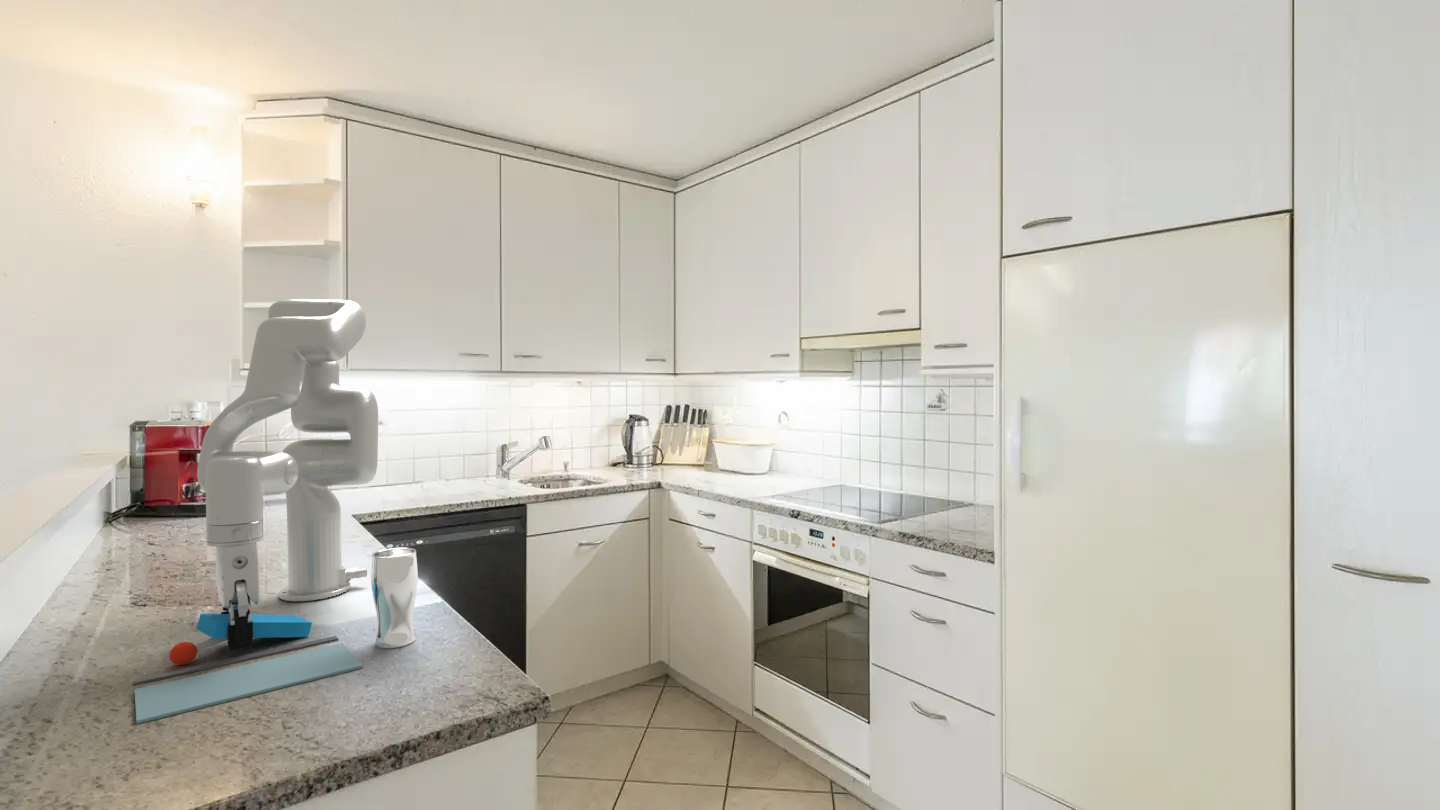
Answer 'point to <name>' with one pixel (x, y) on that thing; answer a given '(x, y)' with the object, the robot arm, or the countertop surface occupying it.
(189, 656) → the lever
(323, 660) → the mat
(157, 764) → the countertop surface
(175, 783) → the countertop surface
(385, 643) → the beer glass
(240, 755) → the countertop surface
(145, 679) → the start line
